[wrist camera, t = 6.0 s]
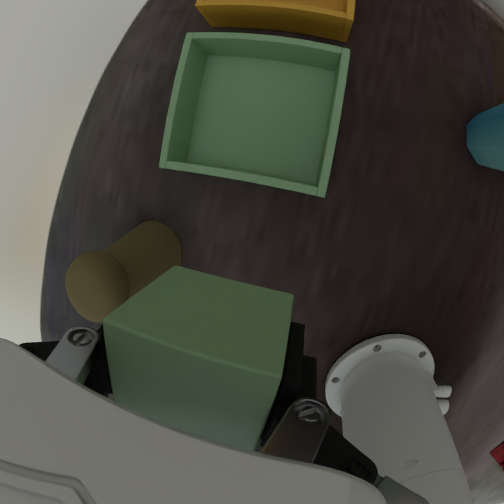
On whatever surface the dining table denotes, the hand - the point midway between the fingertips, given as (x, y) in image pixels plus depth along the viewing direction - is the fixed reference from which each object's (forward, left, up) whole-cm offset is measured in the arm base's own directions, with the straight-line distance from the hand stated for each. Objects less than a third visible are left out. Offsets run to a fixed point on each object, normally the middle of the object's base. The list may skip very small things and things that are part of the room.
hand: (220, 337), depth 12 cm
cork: (+10, +3, -14) cm, 18 cm away
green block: (0, 0, -1) cm, 1 cm away
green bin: (+2, -11, -14) cm, 18 cm away
